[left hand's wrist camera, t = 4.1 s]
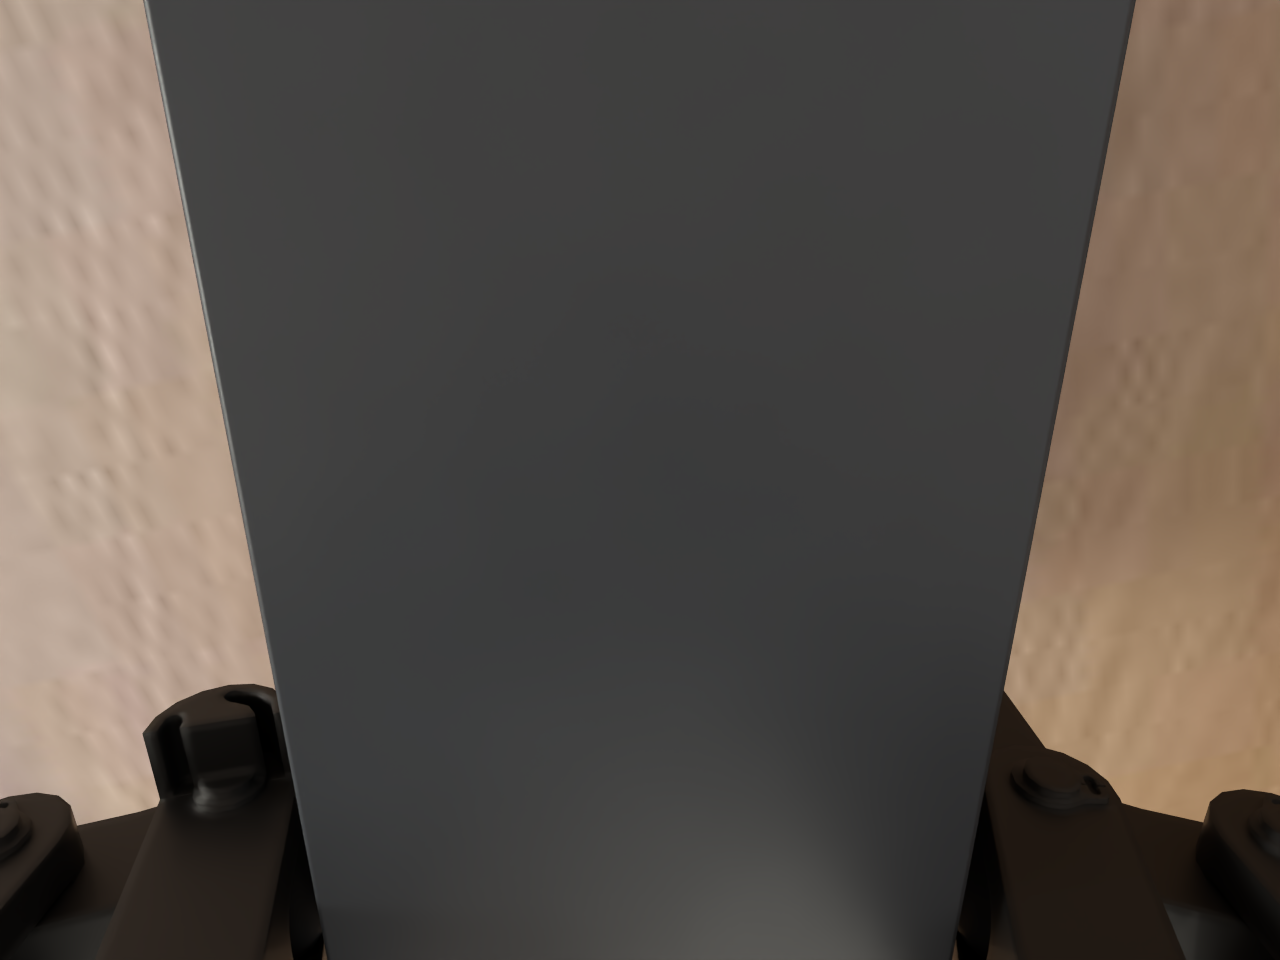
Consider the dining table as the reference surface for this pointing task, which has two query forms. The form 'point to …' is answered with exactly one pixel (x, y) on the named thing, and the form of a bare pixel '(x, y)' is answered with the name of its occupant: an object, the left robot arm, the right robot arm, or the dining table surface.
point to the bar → (639, 443)
